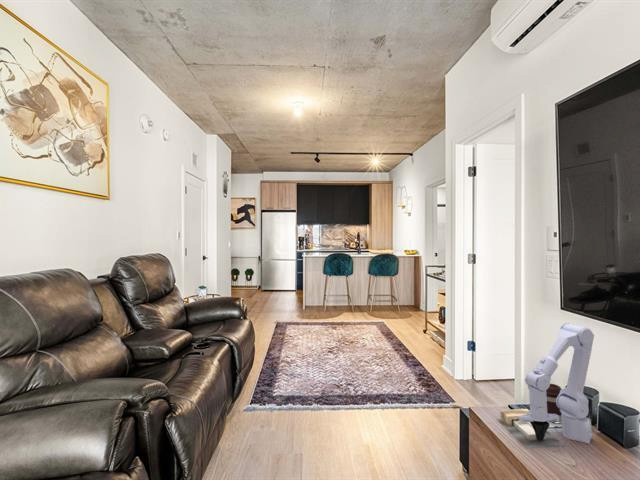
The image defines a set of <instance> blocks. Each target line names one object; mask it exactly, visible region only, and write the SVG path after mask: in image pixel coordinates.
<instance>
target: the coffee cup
mask: <svg viewBox="0 0 640 480" xmlns="http://www.w3.org/2000/svg"><path fill="white" fill-rule="evenodd" d="M561 389H562V387H561V386H560V385H558V384H554V383H550V386H549V388H548V389H547V390H546V396H547V413H548V414H557V415H558V416H559V421H556V420H553V421H549V422H548V423H550V422H562V413H561V412H560V408H558V407H557V405H556V399H557V397H558V395H559V393H560V390H561Z"/></svg>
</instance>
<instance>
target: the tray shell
mask: <svg viewBox="0 0 640 480" xmlns="http://www.w3.org/2000/svg"><path fill="white" fill-rule="evenodd" d="M513 426H514V427H515V428H516V429H517V430H519V431H520V432H521V433H522V434H523V435H524V436H525V437H526V438H527V439H529V440H538V439H537V438H536V434H535V431H534V429H533V427H532V425H531V423H530V422H524V423H521V422H520V421H519V420H513ZM544 440H546V434H545V436H544Z"/></svg>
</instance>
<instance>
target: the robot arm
mask: <svg viewBox="0 0 640 480" xmlns="http://www.w3.org/2000/svg"><path fill="white" fill-rule="evenodd" d="M557 334H558V335H557V338H556V340H555V342H554V344H553V346H552V348H551V349H550V351H549V353H548V354H547V355H544V356H542V357H541V358H540V360H539V361H538V363H537V365H536V366H535V368H534V369H533V371H532V370H531V371H529V372H528V373H527V374H526V376H525V378H524V381H525V384H526V385H527V389H528V393H529V411H530V413H529V414H525V415H521V416H519V421H520V422H521V423H524V422H530V423H531V425H532V427H533V429H534V431H535V434H536V438H537V439H538V440H539V441H543V440H544V436H545V433H546V431H548V429H549V427H550V422H548V421H553V420H556V421H559V416H558V415H557V414H548V413H547V396H546V390H547V389H548V388H549V386H550V384H551V380H552V376H553V374H554V373H555V371H556V370H557V369H558V367H559V364H558V361H559V360H560V359H561V357H562V356H563V355H564V354H565V352H566V351H567V350H568V348H569V347H572V348H573V349H574V350H573V355H572V358H571V359H572V360H571V364H570V370H569V374H568V378H567V383H566V387H563V388H561V390H560V393H559V395H558V397H557V399H556V405H557V407H558V408H560V412H561V413H562V423H561V429H562V436H564V437H565V438H567V439H569V440H572V441H577V442H582V443H586V444H590V443H591V441H592V440H593V439H592V438H593V435H592V434H593V433H592V419H590V418H589V417H587V416H588V414H589V412H590V409H589V399H588V398H587V396H586V395H585V394H584V388H585V384H586V379H587V374H588V370H589V364H590V359H591V355H592V354H591V353H592V350H593V349H592V348H593V345H594V344H593V343H594V337H595V334H594V333H593V331H592V330H591V329H590V328H589V327H587V326H580V325H575V324H573V323H570V322H565V323H562V325H561V326H560V327H559V329H558V331H557Z"/></svg>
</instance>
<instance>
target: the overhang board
mask: <svg viewBox="0 0 640 480" xmlns="http://www.w3.org/2000/svg"><path fill="white" fill-rule="evenodd" d="M529 413H530V409H528V408H515V409H500V418H496V421H497V422H499V424H500V425H501V426H502V427H503V428H504V429H506V431H508V432H509V433H510V435H512V436H513V437H514V438H515V439H516V440H518V442H519V443H520V444H521V445H523V447H525V449H536V448H557V447H566V445H565V444H564V443H563V442H561V441H560V440H559V439H558V438H556V437H555V436H554V435H553V434H551V433H550V432H549V431H548V430H547V431H546V433H545V434H546V440H543V441H539V440H529V439H527V438H526V437H525V436H524V435H523V434H522V433H521V432H520V431H519V430H517V429H516V428H515V427H514V426H513V420H519V416H521V415H525V414H529Z"/></svg>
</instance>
